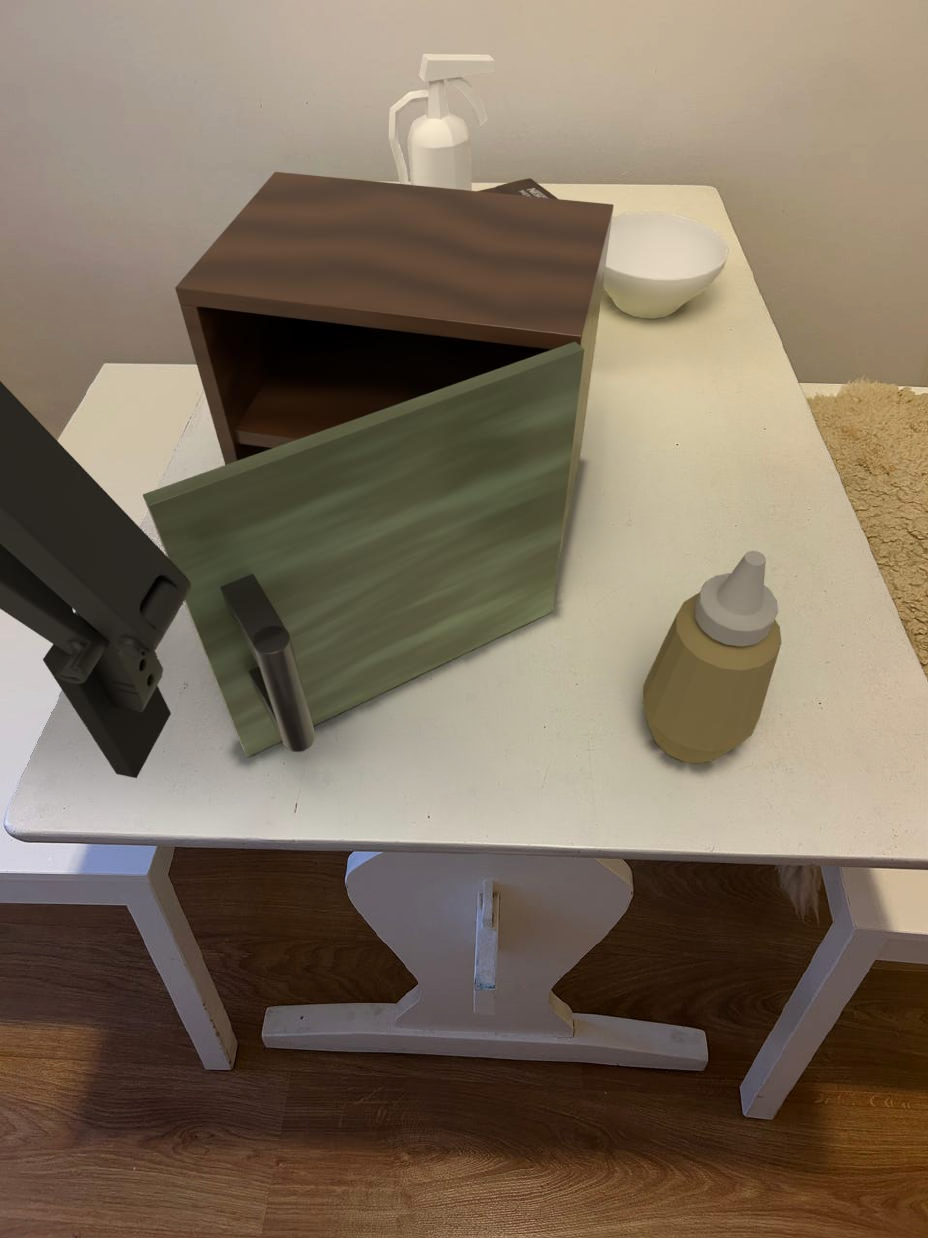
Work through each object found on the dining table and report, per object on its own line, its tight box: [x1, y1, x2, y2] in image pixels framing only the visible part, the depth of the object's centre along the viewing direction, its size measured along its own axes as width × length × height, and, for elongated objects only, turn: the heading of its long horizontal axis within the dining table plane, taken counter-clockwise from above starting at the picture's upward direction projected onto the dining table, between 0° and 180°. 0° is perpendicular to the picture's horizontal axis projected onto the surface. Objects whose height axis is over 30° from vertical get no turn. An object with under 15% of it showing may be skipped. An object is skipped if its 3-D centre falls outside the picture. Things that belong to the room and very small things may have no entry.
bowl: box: [603, 211, 730, 320], centre depth 96 cm, size 16×16×7 cm
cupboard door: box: [142, 342, 584, 758], centre depth 53 cm, size 7×26×24 cm, turn 121°
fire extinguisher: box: [387, 53, 496, 191], centre depth 90 cm, size 7×12×25 cm, turn 104°
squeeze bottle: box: [642, 550, 782, 764], centre depth 54 cm, size 8×8×18 cm
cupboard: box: [174, 171, 614, 564], centre depth 67 cm, size 18×26×24 cm
